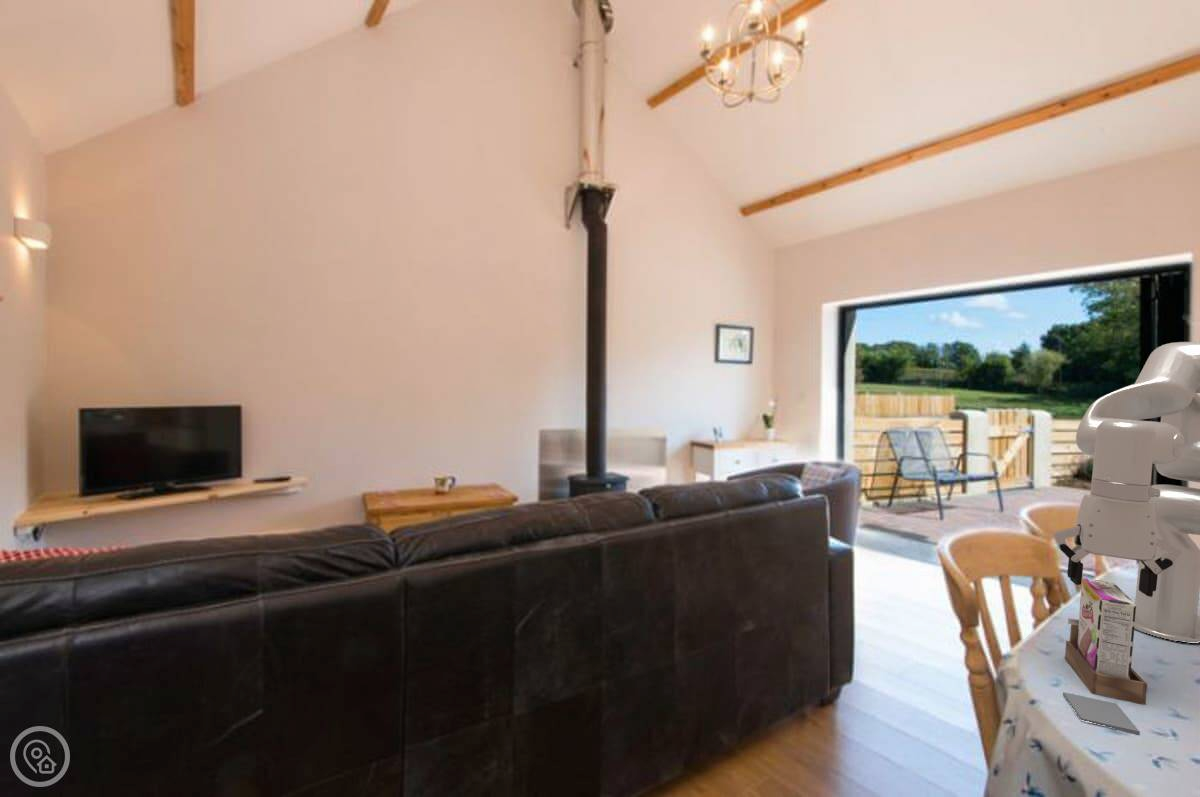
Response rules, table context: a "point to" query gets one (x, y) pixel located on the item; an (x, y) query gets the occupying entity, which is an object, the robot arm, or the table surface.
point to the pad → (1101, 712)
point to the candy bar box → (1106, 628)
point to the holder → (1103, 683)
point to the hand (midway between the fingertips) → (1109, 588)
